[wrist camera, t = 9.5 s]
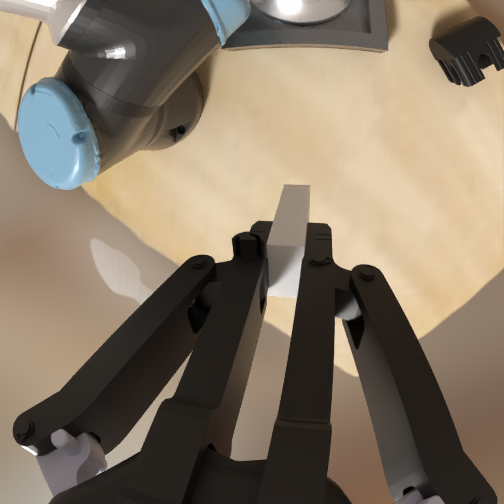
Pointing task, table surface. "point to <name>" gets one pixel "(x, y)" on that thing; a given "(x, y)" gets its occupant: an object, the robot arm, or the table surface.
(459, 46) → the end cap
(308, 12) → the dial
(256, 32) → the housing
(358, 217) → the table surface
